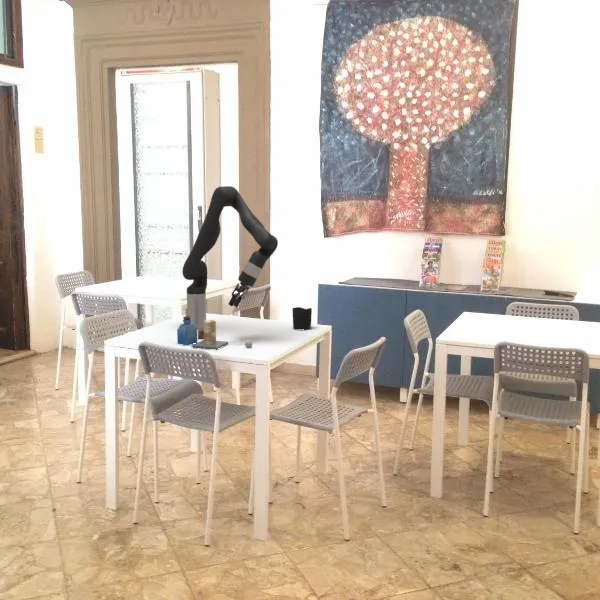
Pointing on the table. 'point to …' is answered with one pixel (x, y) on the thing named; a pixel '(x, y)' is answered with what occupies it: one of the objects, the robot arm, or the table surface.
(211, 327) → the mottled tan cylinder
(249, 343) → the grey ball
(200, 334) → the walnut cube
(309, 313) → the pen holder
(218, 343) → the trivet
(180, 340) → the perfume bottle
